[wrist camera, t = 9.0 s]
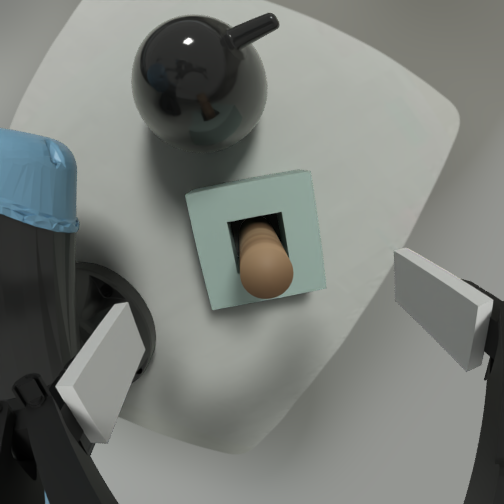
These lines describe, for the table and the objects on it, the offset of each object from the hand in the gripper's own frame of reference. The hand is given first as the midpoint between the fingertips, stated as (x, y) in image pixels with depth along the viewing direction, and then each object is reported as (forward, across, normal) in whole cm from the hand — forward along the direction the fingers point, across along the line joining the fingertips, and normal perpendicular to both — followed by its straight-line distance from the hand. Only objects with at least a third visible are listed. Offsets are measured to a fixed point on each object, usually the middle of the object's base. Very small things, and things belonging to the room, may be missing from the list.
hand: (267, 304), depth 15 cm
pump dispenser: (+17, -2, +13) cm, 21 cm away
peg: (+17, 0, 0) cm, 17 cm away
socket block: (+17, 0, 0) cm, 17 cm away
